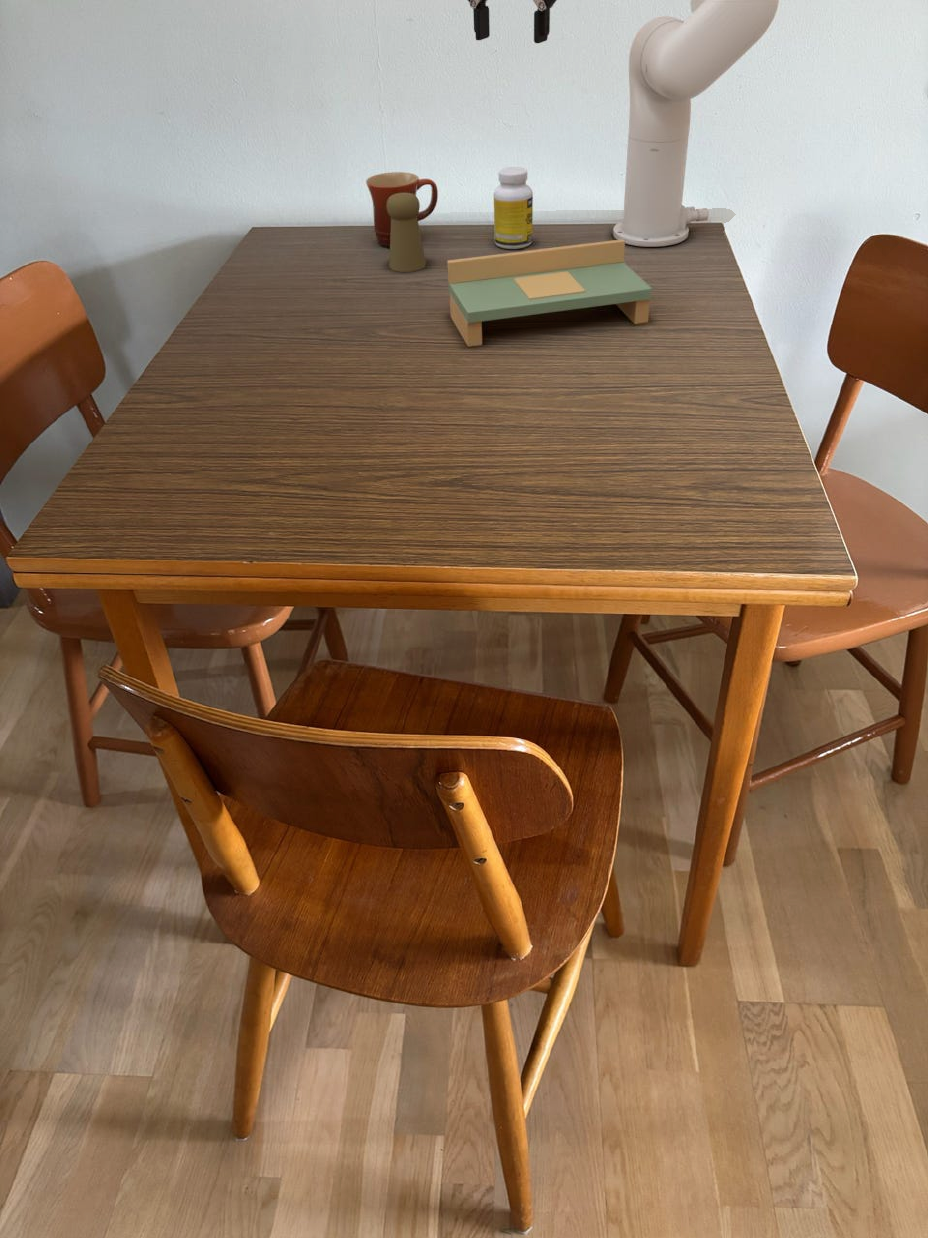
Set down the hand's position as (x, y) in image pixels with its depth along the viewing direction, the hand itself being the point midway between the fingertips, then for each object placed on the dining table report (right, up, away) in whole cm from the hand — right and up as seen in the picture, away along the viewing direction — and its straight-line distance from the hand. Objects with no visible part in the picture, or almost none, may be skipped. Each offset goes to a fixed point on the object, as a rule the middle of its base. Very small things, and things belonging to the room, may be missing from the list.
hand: (511, 40), depth 141 cm
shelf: (+5, -43, -5) cm, 43 cm away
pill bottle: (+1, -22, +21) cm, 30 cm away
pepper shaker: (-16, -28, +15) cm, 36 cm away
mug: (-17, -20, +25) cm, 36 cm away
